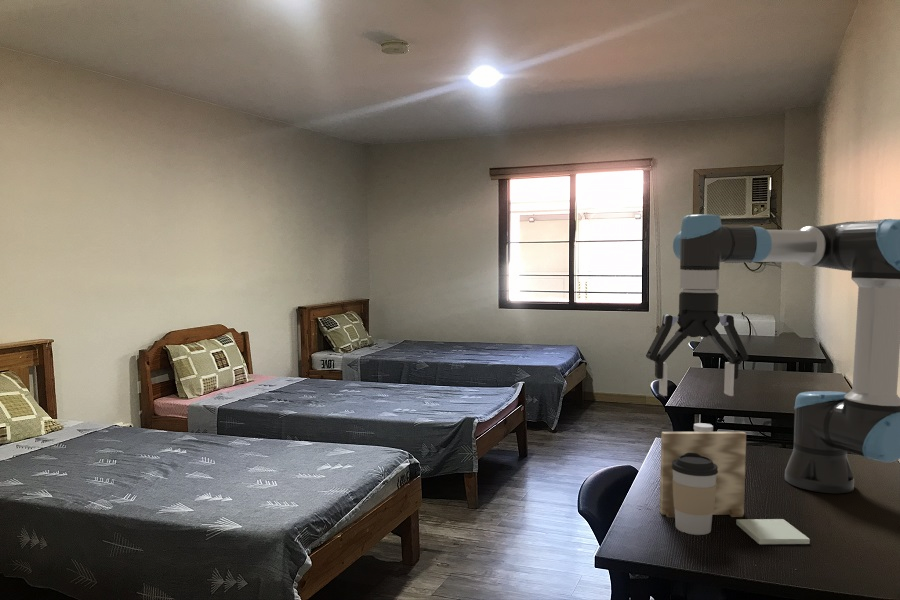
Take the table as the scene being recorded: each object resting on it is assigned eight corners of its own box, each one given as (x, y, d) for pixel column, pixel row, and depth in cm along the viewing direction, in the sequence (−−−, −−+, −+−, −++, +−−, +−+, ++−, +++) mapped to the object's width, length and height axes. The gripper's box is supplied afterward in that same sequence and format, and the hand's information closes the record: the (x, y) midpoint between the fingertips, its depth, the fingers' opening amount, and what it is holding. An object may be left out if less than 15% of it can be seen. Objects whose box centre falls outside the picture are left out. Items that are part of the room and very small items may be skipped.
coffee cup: (720, 538, 134) (722, 465, 133) (672, 535, 135) (674, 462, 135) (711, 521, 142) (713, 452, 142) (667, 518, 144) (669, 449, 143)
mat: (783, 523, 141) (783, 519, 141) (809, 543, 131) (809, 538, 131) (736, 524, 141) (736, 519, 141) (759, 544, 131) (759, 539, 131)
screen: (737, 509, 149) (740, 429, 148) (746, 516, 145) (749, 435, 144) (657, 509, 149) (659, 430, 148) (664, 517, 145) (666, 435, 144)
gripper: (750, 290, 140) (747, 391, 141) (632, 290, 139) (630, 390, 141) (768, 292, 132) (764, 398, 134) (643, 291, 132) (640, 398, 133)
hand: (695, 394), depth 137 cm, fingers open, 13 cm apart
